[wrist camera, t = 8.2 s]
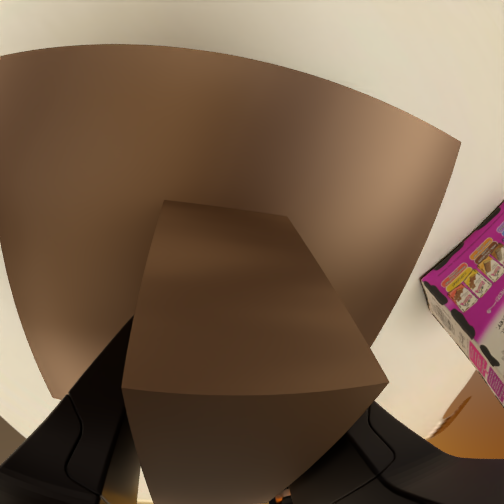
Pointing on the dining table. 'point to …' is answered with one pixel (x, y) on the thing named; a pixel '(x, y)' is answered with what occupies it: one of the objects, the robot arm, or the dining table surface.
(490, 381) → the candy bar box
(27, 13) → the dining table surface
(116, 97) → the walnut lid
